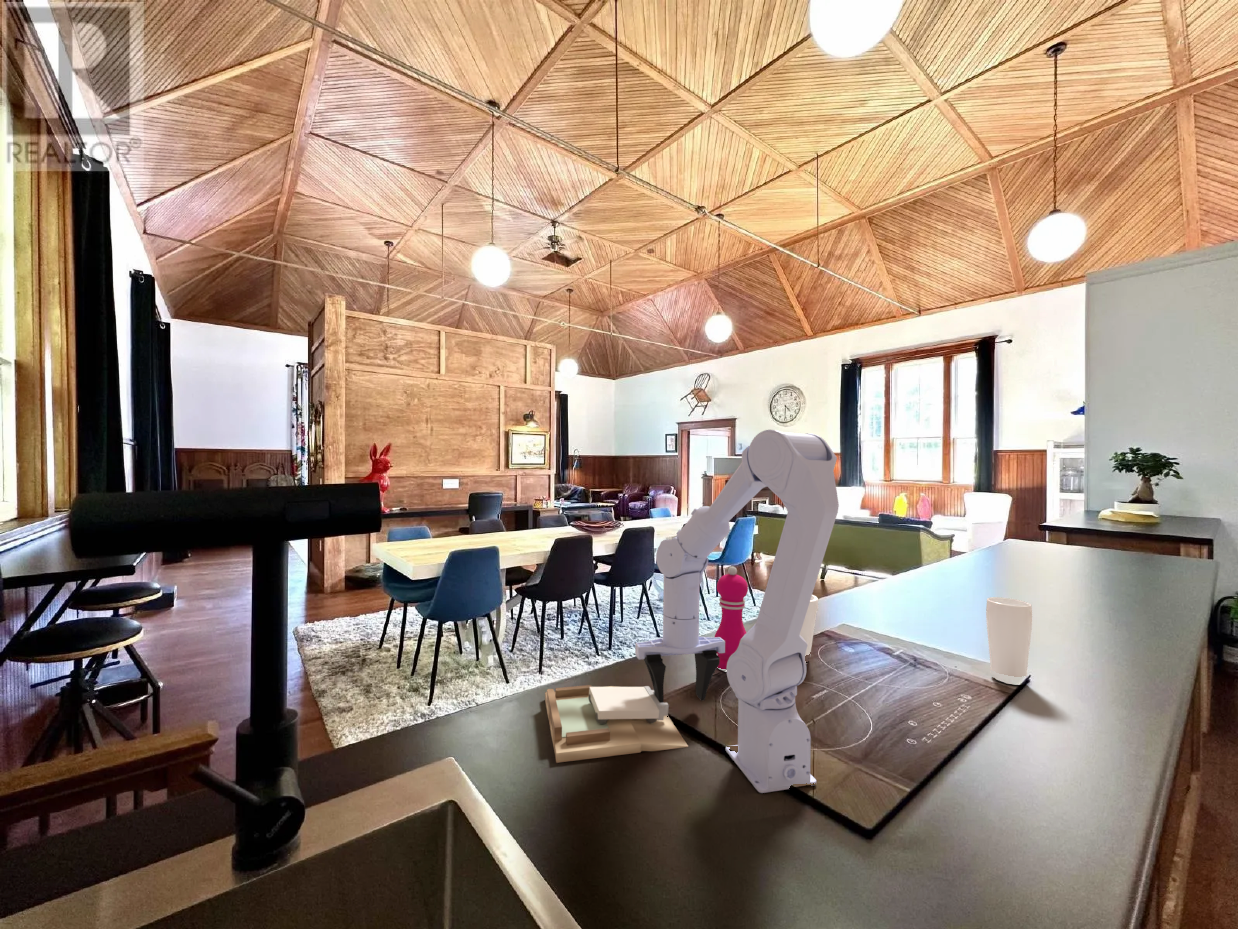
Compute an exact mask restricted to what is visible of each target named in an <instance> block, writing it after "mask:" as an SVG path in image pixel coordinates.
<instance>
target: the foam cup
mask: <svg viewBox="0 0 1238 929" xmlns="http://www.w3.org/2000/svg"><path fill="white" fill-rule="evenodd" d="M818 611H819V598H818V597H817V596H816V595H815V594H812V596H811V600H810V603H809V606H808V609H807V613H806V616H805V619H804V622H803V625H802V629H801V632H800V635H801V637H802V638H803V639H804V640H805V641H806V643H807V645H808V646H807V649H806V653H805V656H806V655H809V654H810V652H812V645H813V640H814V632H815V628H816V627H815V625H816V618H817V612H818ZM810 655H811V654H810Z"/></svg>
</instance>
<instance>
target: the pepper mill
mask: <svg viewBox="0 0 1238 929" xmlns="http://www.w3.org/2000/svg"><path fill="white" fill-rule="evenodd" d="M737 573H738V570H737V568H736V567H735V566H729V567H728V570H727V574H723V575H722V576H721V577H720V578H719V579H718V581H717V583H716V591H717V592H718V595H719V596H720V598H719V603H718V605H719V607H721V608H720V609H721V619H720V623H719V626H718V628H717V629H716V631H715V633H714V637H720V638H722V639H723V640H724V641H725V653H718V652H717V655H718V656H719V657H720V663H719V665H718V668H721V669H726V668H727V662H728V659H729V657H730V656H731V655H732V654H733V653H734V652H735V651H736V650H737V648H738V646H739V643H740V640H741V638H742V637H743V636H744V635H745V634H746V633H747V631H746V627H745V625H744V621H743V610H744V609H745V607H746V604H745V603H746V600H745V599H744V598H745V597H746V596H747V595H748V592H749V584H748V582H747V580H746V579H745V578H744V577H743V576H741V575H739V574H737Z"/></svg>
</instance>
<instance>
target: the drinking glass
mask: <svg viewBox="0 0 1238 929" xmlns="http://www.w3.org/2000/svg"><path fill="white" fill-rule="evenodd" d="M985 610H986V611H985V618H986V620H985V622H986V630H987V642H988V652H989V653H988V654H989V660H990V663H989V664H990V671H991V670H992V671H995V672H996V673H999V674H1004V675H1008V676H1014V677H1022V676H1027V677H1028V666H1029V656H1030V648H1031V639H1032V630H1033V607H1032V604H1031V603H1030V602H1028V601H1023V600H1020V599H1015V598H1009V597H1000V596H997V597H995V596H993V597H991V596H990V597H988V598H986V608H985Z"/></svg>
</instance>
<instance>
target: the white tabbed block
mask: <svg viewBox="0 0 1238 929" xmlns="http://www.w3.org/2000/svg"><path fill="white" fill-rule="evenodd" d="M588 699H589V702H590V703H591V704H593V707H594V709H595V712H596V716H595V718H596V721H597V722H598V723H599V724H605V723H606V722H607V721H608V719H646V721H647V722H648V723H655V722H656V721H657V719H658V721H659V720H663V719H664V716H668V717H669V709H670V708H669V707H670V704H669V703H668V702H663V703H660V702H659V701H658V699H657V698H656V696H655V694H654V689H651V687H650V686H649V685H645V686H617V687H608V686H592V687H589V697H588Z"/></svg>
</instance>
